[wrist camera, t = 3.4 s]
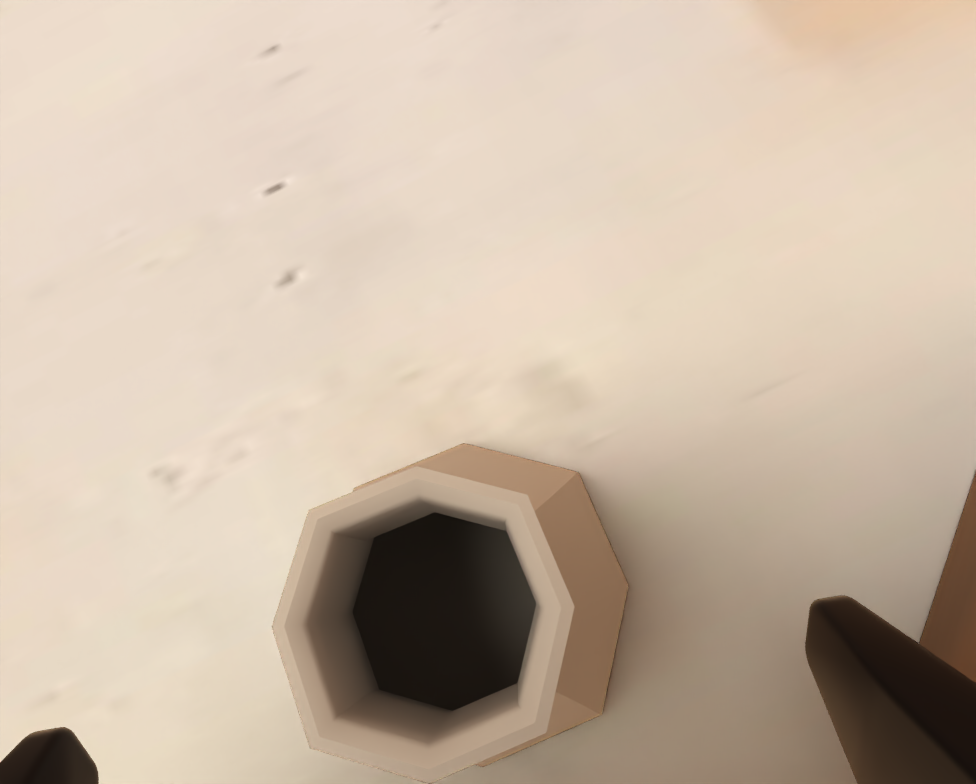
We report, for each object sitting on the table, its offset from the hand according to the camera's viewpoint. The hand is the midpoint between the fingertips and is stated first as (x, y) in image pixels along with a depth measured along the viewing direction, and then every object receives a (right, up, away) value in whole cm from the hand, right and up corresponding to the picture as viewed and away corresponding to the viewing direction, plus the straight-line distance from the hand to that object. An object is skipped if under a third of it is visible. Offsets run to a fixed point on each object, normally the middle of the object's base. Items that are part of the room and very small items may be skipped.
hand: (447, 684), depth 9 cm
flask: (0, -1, +9) cm, 9 cm away
